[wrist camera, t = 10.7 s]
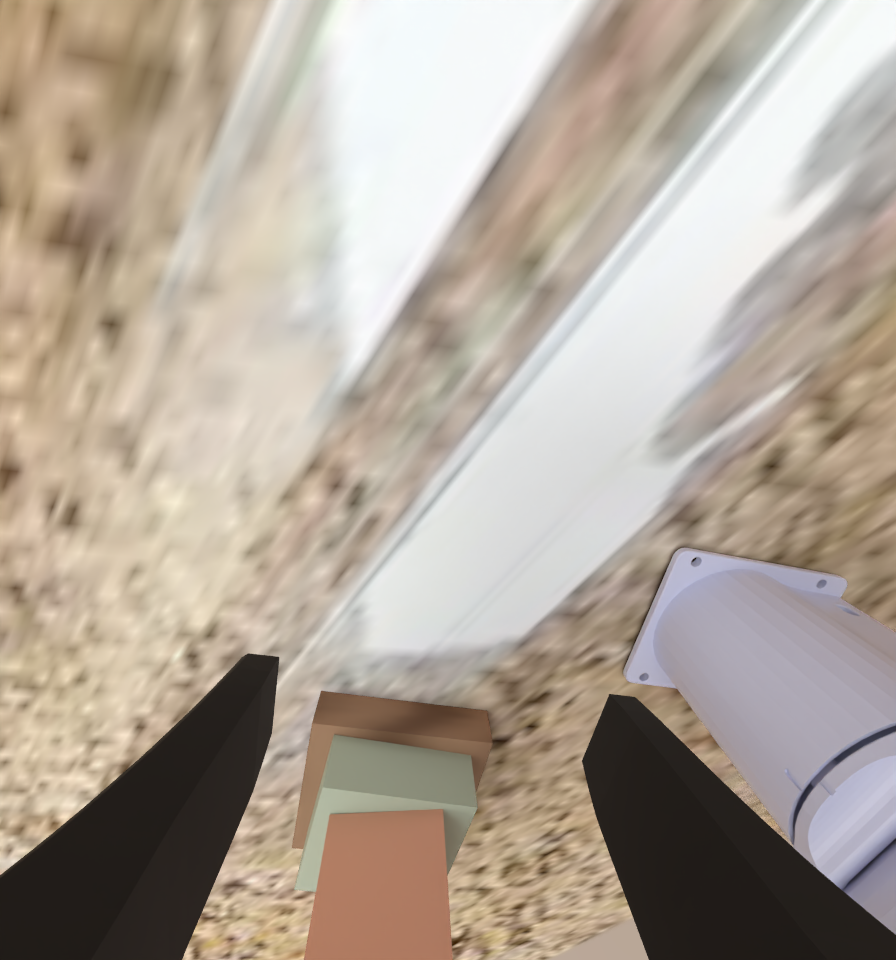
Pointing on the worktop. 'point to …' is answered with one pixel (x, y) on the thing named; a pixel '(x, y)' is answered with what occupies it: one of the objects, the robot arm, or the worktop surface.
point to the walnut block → (388, 736)
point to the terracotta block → (382, 889)
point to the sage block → (388, 792)
